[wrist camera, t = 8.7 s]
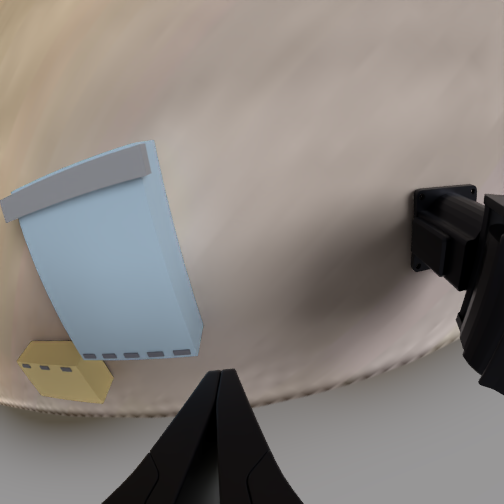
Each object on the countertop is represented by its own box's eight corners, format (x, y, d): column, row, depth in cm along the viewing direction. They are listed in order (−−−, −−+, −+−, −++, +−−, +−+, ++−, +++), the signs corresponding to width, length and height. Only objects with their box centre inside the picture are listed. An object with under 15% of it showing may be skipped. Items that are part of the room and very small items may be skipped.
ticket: (162, 137, 16) (139, 140, 12) (210, 324, 22) (205, 363, 18) (34, 183, 17) (-2, 197, 13) (93, 334, 22) (74, 366, 18)
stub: (91, 340, 22) (75, 367, 19) (113, 377, 24) (102, 404, 21) (31, 340, 23) (15, 362, 19) (53, 374, 25) (41, 396, 21)
